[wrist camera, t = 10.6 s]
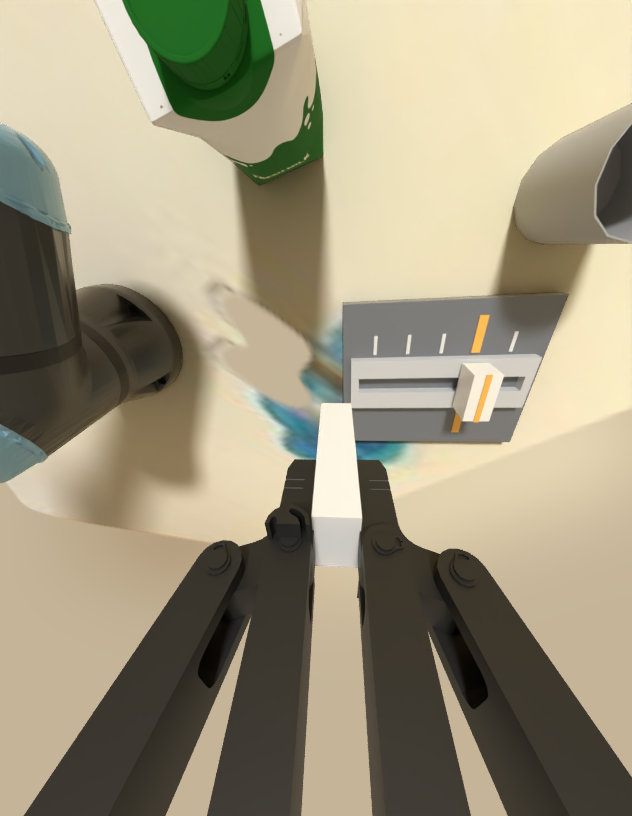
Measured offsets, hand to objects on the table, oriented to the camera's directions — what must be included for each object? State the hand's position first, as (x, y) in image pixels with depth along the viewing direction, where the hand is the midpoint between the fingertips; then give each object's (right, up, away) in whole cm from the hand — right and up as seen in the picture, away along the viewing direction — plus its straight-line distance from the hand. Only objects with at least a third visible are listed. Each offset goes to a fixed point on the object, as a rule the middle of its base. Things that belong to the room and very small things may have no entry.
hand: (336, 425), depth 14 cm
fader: (+18, +4, +20) cm, 28 cm away
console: (+15, +5, +22) cm, 27 cm away
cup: (+23, +22, +12) cm, 33 cm away
